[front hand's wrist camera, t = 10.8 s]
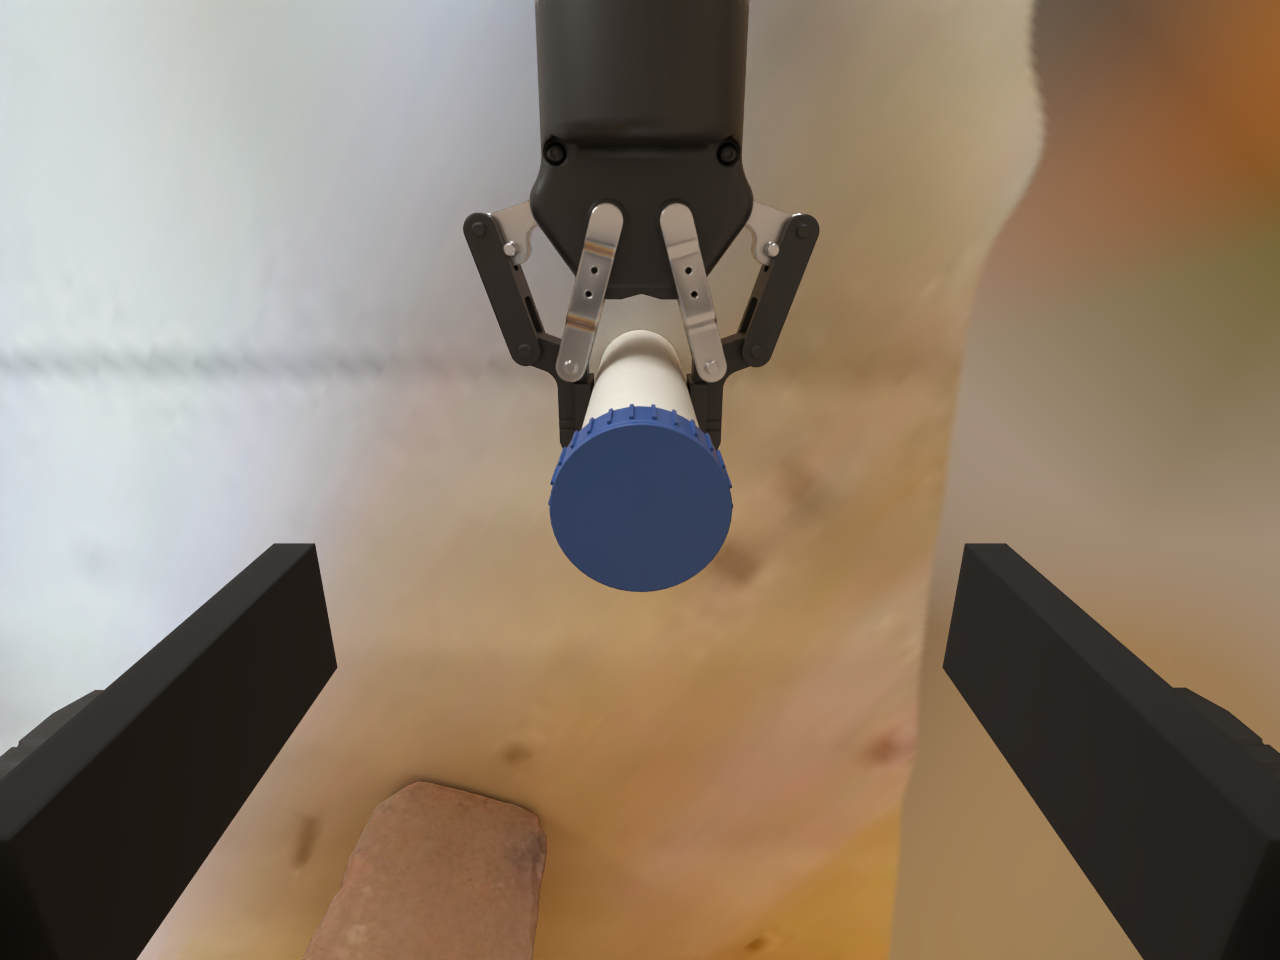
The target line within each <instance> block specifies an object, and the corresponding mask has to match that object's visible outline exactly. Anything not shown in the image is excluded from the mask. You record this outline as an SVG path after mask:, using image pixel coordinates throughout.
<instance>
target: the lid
mask: <svg viewBox="0 0 1280 960" xmlns="http://www.w3.org/2000/svg"><path fill="white" fill-rule="evenodd" d="M558 465H559V466H558ZM558 465H557V466H556V468H555V471H554V474H553V477H552V480H551V484H550V485H553V487H552V491H551V496H550V499H549V505H550V518H551V525H552V528H553V531H554V535H555V537H556V539H557V542H558V544H559V546H560V547H561V549H562V550H563V552H564V554H565V555H566V556H567V557H568V559H569V560H570V561H571V562H572V563H573V564H574V565H575V566H576V567H577V568H578V569H579V570H580V571H582V572H583V573H584V574H586V575H587V576H588V577H590V578H592V579H594V580H595V581H597V582H599V583H601V584H604V585H606V586H609V587H612V588H616V589H619V590H625V591H632V592H648V591H657V590H662V589H666V588H669V587H673V586H676V585H678V584H680V583H682V582H684V581H687V580H688V579H690V578H691V577H693V576H695V575H696V574H697V573H699V572H700V571H701V570H702V569H704V568H705V567H706V566H707V565H708V564H709V563H710V562H711V561H712V560H713V558H714V557H715V556H716V554H717V553H718V552H719V550H720V548H721V547H722V545H723V543H724V541H725V539H726V536H727V534H728V531H729V527H730V523H731V516H732V509H733V504H732V498H731V493H730V488H732V485H731V482H730V479H729V476H728V474H727V471H726V467H725V464H724V461H723V458H722V456H721V453H720V451H719V450H717V451H716V450H715V448H714V446H713V444H712V441H711V438H710V435H709V434H708V433H706V434H704V433H703V432H702V431H701V430H700V429H699V428H698V427H697V426H696V424H695V421H694V420H693V419H691V420H690V421H689V420H687V419H686V418H684V417H682V416H680V415H678V414H677V412H676V410H674V409H672V412H671V411H668V410H665V409H661V408H656V406H655V404H651V407H648V406H634V404H630V407H626V408H621V409H616V410H614V411H613V408H611V409H609V411H608V413H605V414H603V415H601V416H599V417H597V418H596V419H594V418H593V417H592V418H591V419H590V420H589V423H588V424H587V425H586V426H585V427H584V428H582V429H581V430H580V431H579V432H578V431H577V430H576V431H575V432H574V435H573V438H572V441H571V442H570V444H569V445H568V447H567V448H566V447H564V448H563V450H562V453H561V456H560V459H559V461H558Z"/></svg>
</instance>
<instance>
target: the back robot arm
mask: <svg viewBox="0 0 1280 960" xmlns="http://www.w3.org/2000/svg"><path fill="white" fill-rule="evenodd" d="M748 13H749V0H535V15H536V38H537V62H538V85H539V108H540V131H541V165H540V170H539V174H538V177H537V179H536V181H535V183H534V185H533V187H532V190H531V194H530V200H528V201H526V202H523V203H520V204H517V205H514V206H512V207H509V208H506V209H503V210H500V211H497V212H495V213H492V214H487V213H474V214H471V215H470V216H468V217H467V219H466V220H465V222H464V226H463V231H464V235H465V238H466V240H467V243H468V245H469V248H470V251H471V253H472V256H473V258H474V261H475V264H476V266H477V269H478V271H479V274H480V276H481V279H482V282H483V284H484V287H485V289H486V292H487V295H488V297H489V300H490V302H491V305H492V308H493V310H494V313H495V315H496V318H497V320H498V323H499V326H500V328H501V331H502V333H503V336H504V339H505V341H506V344H507V346H508V349H509V352H510V354H511V356H512V358H513V360H514V361H515V362H516V363H518V364H519V365H522V366H530V365H531V366H533V367H536V368H539V369H542V370H544V371H547V372H548V373H550V374H551V375H552V376H553V377H554V378H555V380H556V382H557V385H558V402H559V428H560V443H561V445H562V448H564V447H566V448H567V447H568V445H569V444H570V442H571V441H572V438H573V435H574V432H575V431H576V430H577V431H578V432H579V431H580V430H581V429H582V426H583V423H584V419H585V416H586V412H587V409H588V405H589V402H590V398H591V395H592V391H593V388H594V373H589V359H590V356H591V352H592V348H593V344H594V340H595V336H596V333H597V329H598V325H599V321H600V318H601V314H602V310H603V307H604V303H605V299H624V298H627V297H631V296H634V295H638V294H645V295H648V296H652V297H655V298H659V299H677V302H678V306H679V310H680V313H681V317H682V321H683V324H684V328H685V332H686V336H687V340H688V344H689V347H690V351H691V355H692V374H687V383H686V385H687V388H688V392H689V395H690V399H691V402H692V405H693V409H694V412H695V415H696V419H697V422H698V425H699V429H700V430H701V431H702V432H703V433H704V434H706V433H708V434H709V435H710V438H711V441H712V444H713V446H714V448H715V450H716V451H717V449H718V447H719V445H720V442H721V419H722V396H723V385H724V382H725V380H726V379H727V377H728V376H729V375H730V374H732V373H733V372H736V371H738V370H741V369H744V368H747V367H750V366H752V367H760V366H763V365H765V364H766V363H767V362H768V361H769V360H770V358H771V355H772V353H773V350H774V348H775V345H776V343H777V340H778V338H779V335H780V332H781V330H782V327H783V325H784V322H785V320H786V317H787V315H788V312H789V309H790V307H791V304H792V302H793V299H794V297H795V294H796V292H797V289H798V286H799V284H800V281H801V279H802V276H803V274H804V271H805V269H806V266H807V263H808V261H809V258H810V256H811V253H812V251H813V248H814V246H815V243H816V240H817V238H818V235H819V225H818V222H817V221H816V219H815V218H814V217H812V216H810V215H807V214H790V213H787V212H784V211H781V210H778V209H776V208H773V207H770V206H767V205H764V204H762V203H759V202H756V201H753V194H752V190H751V188H750V186H749V184H748V181H747V179H746V177H745V174H744V170H743V165H742V137H743V117H744V96H745V75H746V54H747V33H748ZM538 225H539V227H540V228H541V230H542V231H543V232H544V234H545V235H546V236H547V238H548V239H549V241H550V242H551V243H552V245H553V246H554V247H555V249H556V250H557V252H558V253H559V254H560V256H561V257H562V258H563V260H564V261H565V263H566V264H567V265H568V267H569V268H570V269H571V271H572V272H573V274H574V275H575V276H576V280H575V284H574V288H573V292H572V296H571V300H570V304H569V308H568V313H567V318H566V324H565V329H564V333H563V337H562V339H560V338H557V337H554V336H552V335H549V334H546V333H545V331H544V328H543V325H542V322H541V320H540V317H539V314H538V311H537V309H536V306H535V303H534V300H533V298H532V295H531V292H530V289H529V287H528V284H527V281H526V279H525V276H524V273H523V270H522V268H521V265H520V264H522V263H524V262H525V261H527V260H528V258H529V257H530V255H531V244H530V236H531V233H532V231H533V230H534V228H535V227H537V226H538ZM744 226H745V227H747V228H748V229H749V230H750V232H751V234H752V238H753V242H752V247H751V253H752V256H753V258H754V259H755V261H757V262H758V263H760V264H762V267H761V269H760V272H759V275H758V277H757V280H756V283H755V285H754V288H753V291H752V294H751V296H750V299H749V302H748V304H747V307H746V310H745V312H744V315H743V318H742V321H741V323H740V326H739V329H738V331H737V334H734V335H731V336H728V337H725V338H723V339H720V335H719V331H718V327H717V321H716V315H715V310H714V306H713V302H712V297H711V293H710V289H709V285H708V281H707V276H708V275H709V273H710V272H711V271H712V269H713V268H714V267H715V265H716V264H717V263H718V261H719V260H720V258H721V257H722V256H723V254H724V253H725V252H726V250H727V249H728V247H729V246H730V245H731V243H732V242H733V241H734V239H735V238H736V237H737V235H738V234H739V232H740V231H741V230H742V228H743V227H744Z"/></svg>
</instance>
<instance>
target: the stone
mask: <svg viewBox="0 0 1280 960" xmlns="http://www.w3.org/2000/svg"><path fill="white" fill-rule="evenodd" d="M546 854H547V841H546V834H545V832H544V831H543V829H542V828H541V826H540V823H539V820H538V817H537V816H536V815H535V814H533V813H532V812H530V811H528V810H526V809H524V808H521V807H519V806H516V805H513V804H509V803H505V802H501V801H498V800H494V799H490V798H487V797H484V796H481V795H478V794H473V793H469V792H466V791H463V790H459V789H454V788H450V787H445V786H442V785H438V784H434V783H429V782H421V781H418V782H415V783H413V784H411V785H409V786H407V787H405V788H403V789H402V790H400V791H398V792H397V793H395V794H393V795H392V796H390V797H389V798H387V799H386V800H384V801H383V802H381V803H379V804H378V805H377V806H376V808H375V810H374V812H373V813H372V815H371V817H370V819H369V820H368V822H367V824H366V825H365V827H364V829H363V831H362V833H361V835H360V838H359V840H358V842H357V844H356V845H355V847H354V849H353V851H352V853H351V855H350V857H349V859H348V862H347V866H346V869H345V872H344V876H343V881H342V884H341V887H340V890H339V891H338V893H337V894H336V895H335V896H334V897H333V899H332V901H331V903H330V905H329V906H328V908H327V910H326V912H325V914H324V916H323V918H322V919H321V921H320V923H319V925H318V927H317V928H316V930H315V932H314V934H313V936H312V938H311V941H310V943H309V945H308V947H307V950H306V952H305V954H304V956H303V958H302V960H532V956H533V950H534V940H535V933H536V926H537V920H538V906H539V896H540V887H541V882H542V877H543V872H544V868H545V861H546Z"/></svg>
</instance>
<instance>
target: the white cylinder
mask: <svg viewBox="0 0 1280 960" xmlns="http://www.w3.org/2000/svg"><path fill="white" fill-rule="evenodd" d="M630 404H634V406H648V407H651V404H655V406H656V408H661V409H665V410H668V411H671V412H672V409H674V410H676V412H677V414H678V415H680V416H682V417H684V418H686V419H687V420H689V421H690V420H691V419H693V420H694V421H695V424H696V426H697V427H698V428H699V425H698V422H697V419H696V415H695V412H694V409H693V405H692V402H691V399H690V395H689V392H688V388H687V385H686V382H685V378H684V375H683V372H682V368H681V365H680V362H679V358H678V355H677V353H676V351H675V349H674V348H673V346H672V345H671V344H670V343H669V342H668V341H667V340H666V339H665V338H663V337H662V336H660V335H658V334H656V333H654V332H651V331H646V330H635V331H630V332H627V333H624V334H622V335H620V336H619V337H617V338H616V339H614V340H613V341H612V342H611V343H610V345H609V346H608V347H607V349H606V350H605V352H604V354H603V357H602V360H601V363H600V367H599V370H598V374H597V377H596V381H595V384H594V388H593V391H592V395H591V398H590V402H589V405H588V409H587V412H586V416H585V419H584V423H583V426H582V428H584V427H585V426H586V425H587V424H588V423H589V420H590V419H591V418H592V417H593V418H594V419H596V418H597V417H599V416H601V415H603V414H605V413H608V411H609V409H611V408H613V411H614V410H616V409H621V408H626V407H630Z"/></svg>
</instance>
